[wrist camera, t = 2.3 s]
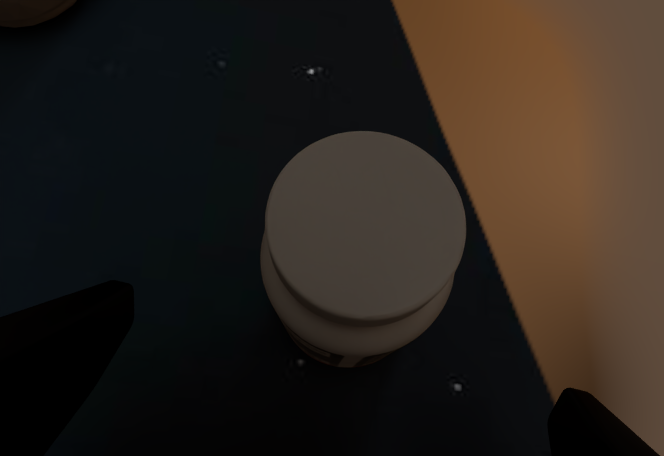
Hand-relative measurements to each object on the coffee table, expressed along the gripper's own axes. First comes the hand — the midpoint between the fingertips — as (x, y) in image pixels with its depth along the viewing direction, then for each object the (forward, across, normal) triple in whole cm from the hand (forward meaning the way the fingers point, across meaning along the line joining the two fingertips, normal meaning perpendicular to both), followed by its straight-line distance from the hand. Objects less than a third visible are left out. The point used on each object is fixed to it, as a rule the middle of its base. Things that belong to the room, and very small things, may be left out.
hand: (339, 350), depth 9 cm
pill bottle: (+9, 0, +5) cm, 11 cm away
